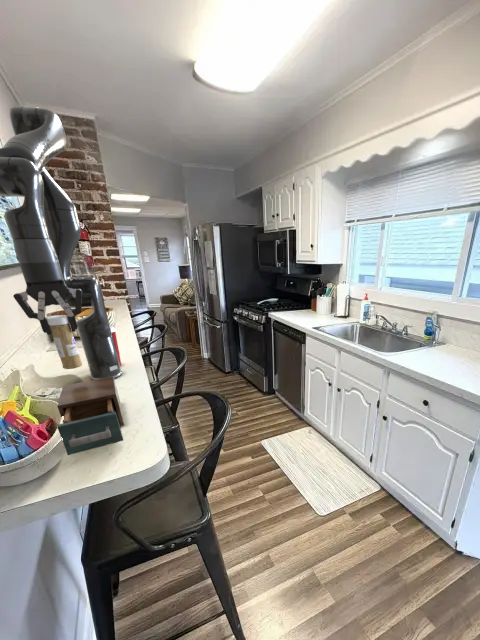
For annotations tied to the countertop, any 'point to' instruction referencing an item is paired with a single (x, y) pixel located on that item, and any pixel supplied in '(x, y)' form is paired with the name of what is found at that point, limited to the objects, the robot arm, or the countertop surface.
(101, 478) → the countertop surface
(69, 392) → the cabinet
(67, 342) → the sprinkles bottle
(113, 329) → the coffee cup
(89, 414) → the drawer
